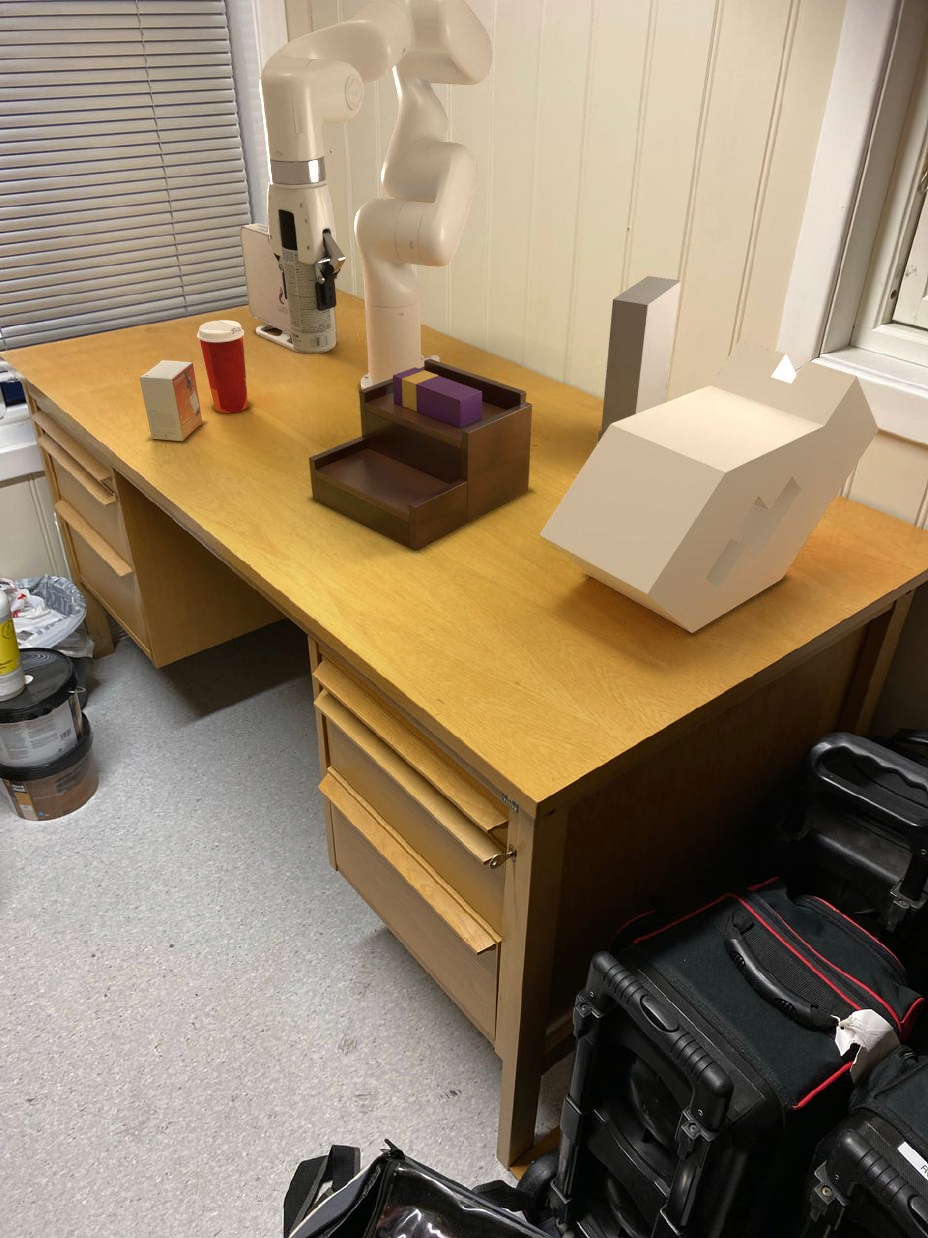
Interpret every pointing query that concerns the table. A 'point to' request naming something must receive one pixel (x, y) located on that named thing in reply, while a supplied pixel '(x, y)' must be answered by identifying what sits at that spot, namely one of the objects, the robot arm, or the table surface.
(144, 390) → the small box
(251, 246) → the network device
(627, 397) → the cassette tape recorder
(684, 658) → the table surface
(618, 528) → the cream angular block
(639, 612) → the table surface
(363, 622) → the table surface
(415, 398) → the purple banded block
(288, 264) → the spray can
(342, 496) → the step rack
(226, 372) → the paper cup
